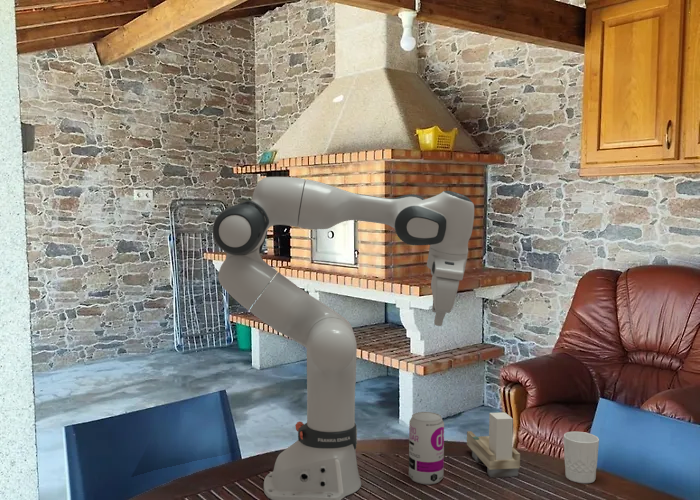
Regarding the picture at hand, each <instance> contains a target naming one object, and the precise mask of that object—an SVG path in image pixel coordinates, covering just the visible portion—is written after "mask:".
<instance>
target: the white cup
mask: <svg viewBox="0 0 700 500" xmlns="http://www.w3.org/2000/svg"><path fill="white" fill-rule="evenodd" d="M599 443H600V439H599V437H598V436H597V435H594V434H592V433H589V432H584V431H567V432H565V433H564V434H563V445H564V446H563V452H564V466H565V467H564V470H565V472H564V474H565V477H566V479H567V480H570V481H571V482H574V483H579V484H591V483H594V482H595V480H596V478H597V467H598V457H599Z"/></svg>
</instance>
